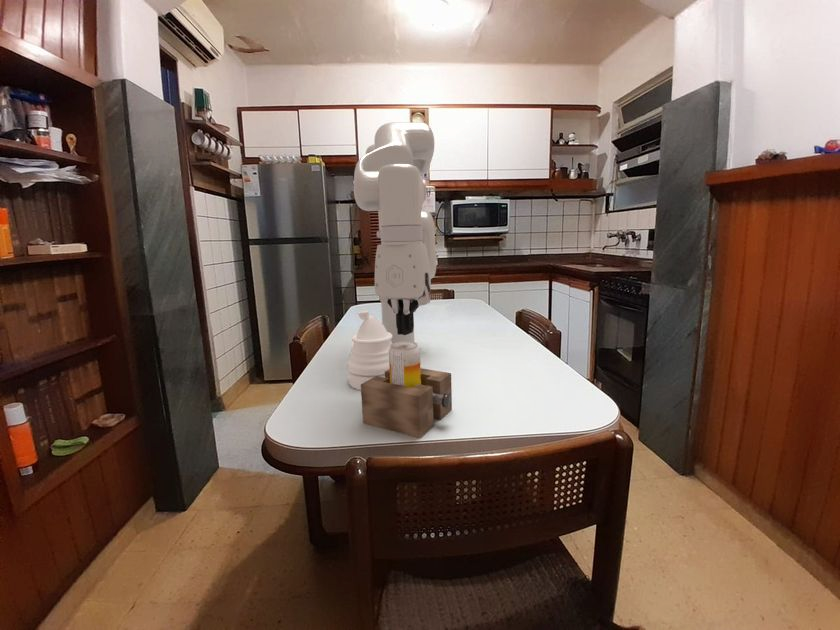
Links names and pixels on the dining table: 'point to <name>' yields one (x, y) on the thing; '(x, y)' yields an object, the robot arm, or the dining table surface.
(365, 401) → the brown wooden clamp block
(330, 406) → the dining table surface
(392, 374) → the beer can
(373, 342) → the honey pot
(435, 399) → the plunger
